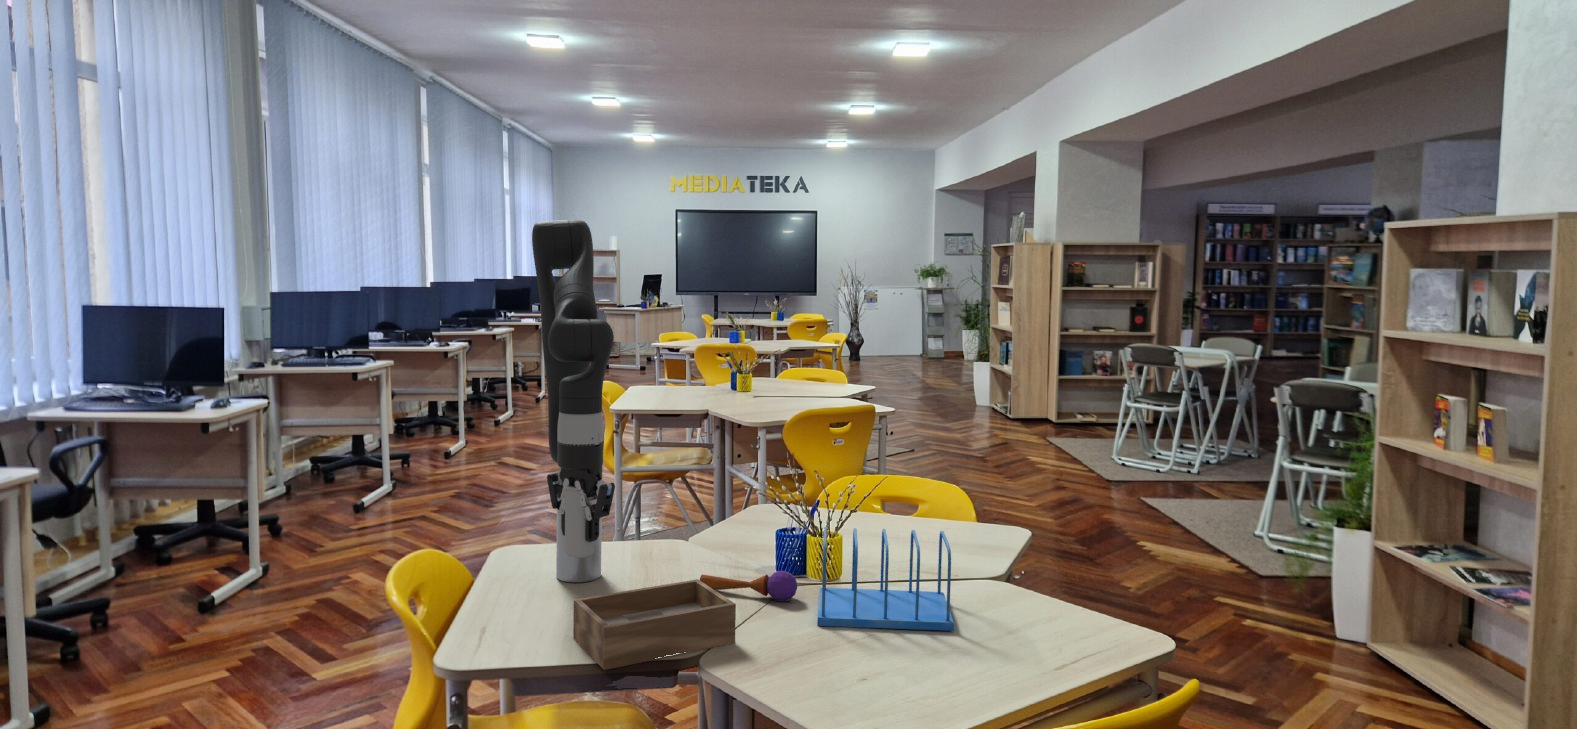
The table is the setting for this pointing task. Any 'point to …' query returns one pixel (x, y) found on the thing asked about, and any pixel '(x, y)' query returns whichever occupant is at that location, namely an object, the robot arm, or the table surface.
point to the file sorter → (886, 597)
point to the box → (653, 623)
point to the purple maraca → (758, 584)
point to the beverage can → (576, 525)
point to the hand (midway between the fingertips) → (580, 537)
